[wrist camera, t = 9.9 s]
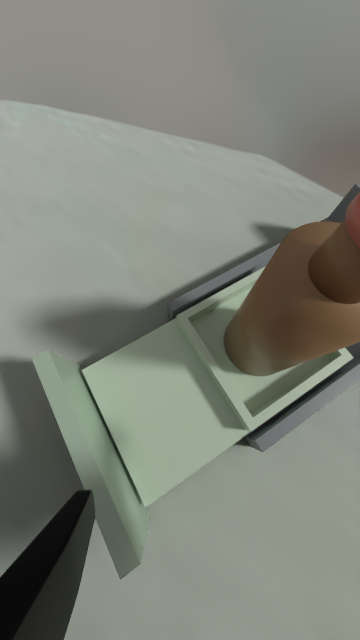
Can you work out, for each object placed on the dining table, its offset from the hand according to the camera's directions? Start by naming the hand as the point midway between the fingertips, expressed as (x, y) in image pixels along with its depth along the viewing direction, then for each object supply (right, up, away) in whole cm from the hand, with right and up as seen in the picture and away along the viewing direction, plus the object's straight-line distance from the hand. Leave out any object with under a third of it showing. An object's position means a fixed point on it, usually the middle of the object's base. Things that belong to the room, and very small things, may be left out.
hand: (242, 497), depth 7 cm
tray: (0, +1, +12) cm, 12 cm away
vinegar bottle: (+4, +4, +12) cm, 13 cm away
